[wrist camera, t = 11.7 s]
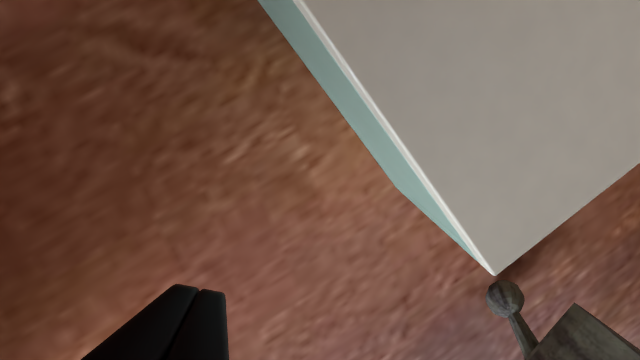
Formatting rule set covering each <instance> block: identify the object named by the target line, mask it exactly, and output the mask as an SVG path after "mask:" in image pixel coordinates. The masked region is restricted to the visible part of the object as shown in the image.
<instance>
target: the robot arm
mask: <svg viewBox="0 0 640 360" xmlns="http://www.w3.org/2000/svg"><path fill="white" fill-rule="evenodd" d="M81 360H229V350H228V333H227V315H226V299H225V295H224V293H222V292H217V291H212V290H207V289H202V290H201V291H199V289H198V288H196V287H192V286H186V285H181V284H175V285H173V286H171V287H170V288H169V289H167V290H166V291H165V292H164V293H163V294H161V295H160V296H159V297H158V298H156V299H155V300H154V301H153V302H151V303H150V304H149V305H148V306H146V307H145V308H144V309H143V310H142V311H140V312H139V313H138V314H137V315H135V316H134V317H133V318H132V319H130V320H129V321H128V322H127V323H125V324H124V325H123V326H122V327H121V328H119V329H118V330H117V331H116V332H114V333H113V334H112V335H111V336H109V337H108V338H107V339H106V340H104V341H103V342H102V343H101V344H100V345H98V346H97V347H96V348H95V349H93V350H92V351H91V352H90V353H88V354H87V355H86V356H85V357H83V358H82V359H81Z"/></svg>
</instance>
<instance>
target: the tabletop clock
mask: <svg viewBox="0 0 640 360" xmlns="http://www.w3.org/2000/svg"><path fill="white" fill-rule="evenodd" d="M486 302H487V304H488V306H489V308H490V309H491V311H492V312H493V313H494V314H495V315H499V316H502V317H505V318H506V317H508V318H509V321H510V323H511V326H512V328H513V331H514V333H515V336H516V338H517V341H518V343H519V345H520V348H521V350H522V353H523V355H524V359H525V360H640V350H639V349H638V348H636V347H635V346H634V345H632V344H631V343H630V342H628V341H627V340H626V339H624V338H623V337H621V336H620V335H619V334H617V333H616V332H615V331H613V330H612V329H611V328H609V327H608V326H607V325H605V324H604V323H602V322H601V321H600V320H598V319H597V318H596V317H594V316H593V315H591V314H590V313H589V312H587V311H586V310H585V309H583V308H582V307H580V306H579V305H577V304H576V303H573V305H572V306H571V307H570V308H569V309H568V310H567V312H566V313H565V314H564V315H563V316H562V317H561V319H560V320H559V321H558V322H557V323H556V324H555V325H554V327H553V328H552V329H551V330H550V331H549V332H548V334H547V335H546V336H545V337H544V338H543V339H542V341H541V342H540V343H539V342H538V341H537V339H536V337H535V336H534V334H533V333H532V331H531V330H530V328H529V327H528V325H527V324H526V322H525V321H524V319H523V318H522V316H521V315H520V313H519V312H520V311H521V309H522V307H523V304H524V295H523V294H522V292H521V290H520V289H519V287H518V285H516V284H515V283H513V282H510V281H507V280H500V281H496V282H495V283H493V284H492V285H490V286H489V289H488V291H487V294H486Z"/></svg>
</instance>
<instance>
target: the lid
mask: <svg viewBox="0 0 640 360" xmlns="http://www.w3.org/2000/svg"><path fill="white" fill-rule="evenodd" d="M293 2H294V3H295V4H296V6H297V7H298V9H299V10H300V11H301V13H302V14H303V16H304V17H305V18H306V20H307V21H308V23H309V24H310V26H311V27H312V28H313V30H314V31H315V33H316V34H317V35H318V37H319V38H320V40H321V41H322V42H323V44H324V45H325V47H326V48H327V49H328V51H329V52H330V54H331V55H332V56H333V58H334V59H335V61H336V62H337V63H338V65H339V66H340V68H341V69H342V71H343V72H344V73H345V75H346V76H347V78H348V79H349V80H350V82H351V83H352V85H353V86H354V87H355V89H356V90H357V92H358V93H359V94H360V96H361V97H362V99H363V100H364V101H365V103H366V104H367V106H368V107H369V108H370V110H371V111H372V113H373V114H374V115H375V117H376V118H377V120H378V121H379V123H380V124H381V125H382V127H383V128H384V130H385V131H386V132H387V134H388V135H389V137H390V138H391V139H392V141H393V142H394V144H395V145H396V146H397V148H398V149H399V151H400V152H401V153H402V155H403V156H404V158H405V159H406V160H407V162H408V163H409V165H410V166H411V168H412V169H413V170H414V172H415V173H416V175H417V176H418V177H419V179H420V180H421V182H422V183H423V184H424V186H425V187H426V189H427V190H428V191H429V193H430V194H431V196H432V197H433V198H434V200H435V201H436V203H437V204H438V205H439V207H440V208H441V210H442V211H443V213H444V214H445V215H446V217H447V218H448V220H449V221H450V222H451V224H452V225H453V227H454V228H455V229H456V231H457V232H458V234H459V235H460V236H461V238H462V239H463V241H464V242H465V243H466V245H467V246H468V248H469V249H470V250H471V252H472V253H473V255H474V256H475V258H476V259H477V260H478V262H479V263H480V264H481V265H482V266H483V267H484V268H485V269H486V270H487V271H488V272H489V273H491V274H492V275H494V276H495V275H497V274H499V273H500V272H501V271H502V270H504V269H505V268H506V267H508V266H509V265H510V264H511V263H513V262H514V261H515V260H516V259H518V258H519V257H520V256H522V255H523V254H524V253H525V252H527V251H528V250H529V249H530V248H532V247H533V246H534V245H536V244H537V243H538V242H539V241H541V240H542V239H543V238H544V237H546V236H547V235H548V234H550V233H551V232H552V231H553V230H555V229H556V228H557V227H558V226H560V225H561V224H562V223H564V222H565V221H566V220H567V219H569V218H570V217H571V216H572V215H574V214H575V213H576V212H577V211H579V210H580V209H581V208H583V207H584V206H585V205H586V204H588V203H589V202H590V201H591V200H593V199H594V198H595V197H597V196H598V195H599V194H600V193H602V192H603V191H604V190H605V189H607V188H608V187H609V186H611V185H612V184H613V183H614V182H616V181H617V180H618V179H619V178H621V177H622V176H623V175H625V174H626V173H627V172H628V171H630V170H631V169H632V168H633V167H635V166H636V165H637V164H639V163H640V0H293Z"/></svg>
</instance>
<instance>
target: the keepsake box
mask: <svg viewBox="0 0 640 360" xmlns="http://www.w3.org/2000/svg"><path fill="white" fill-rule="evenodd" d="M258 2H259V3H260V4H261V6H262V7H263V8H264V10H265V11H266V12H267V14H268V15H269V16H270V18H271V19H272V21H273V22H274V23H275V25H276V26H277V27H278V29H279V30H280V31H281V33H282V34H283V35H284V37H285V38H286V39H287V41H288V42H289V43H290V45H291V46H292V48H293V49H294V50H295V52H296V53H297V54H298V56H299V57H300V58H301V60H302V61H303V62H304V64H305V65H306V66H307V68H308V69H309V70H310V72H311V73H312V75H313V76H314V77H315V79H316V80H317V81H318V83H319V84H320V85H321V87H322V88H323V89H324V91H325V92H326V93H327V95H328V96H329V97H330V99H331V100H332V102H333V103H334V104H335V106H336V107H337V108H338V110H339V111H340V112H341V114H342V115H343V116H344V118H345V119H346V120H347V122H348V123H349V124H350V126H351V127H352V129H353V130H354V131H355V133H356V134H357V135H358V137H359V138H360V139H361V141H362V142H363V143H364V145H365V146H366V147H367V149H368V150H369V151H370V153H371V154H372V156H373V157H374V158H375V160H376V161H377V162H378V164H379V165H380V166H381V168H382V169H383V170H384V172H385V173H386V174H387V176H388V177H389V178H390V180H391V181H392V183H393V184H394V185H395V187H396V188H397V189H398V190H399V191H401V192H402V193H403V194H404V195H405V196H406V197H407V198H408V199H409V200H410V201H411V202H413V203H414V204H415V205H416V206H417V207H418V208H419V209H420V210H421V211H422V212H424V213H425V214H426V215H427V216H428V217H429V218H430V219H431V220H432V221H433V222H435V223H436V224H437V225H438V226H439V227H440V228H441V229H442V230H443V231H444V232H445V233H447V234H448V235H449V236H450V237H451V238H452V239H453V240H454V241H455V242H456V243H458V244H459V245H460V246H461V247H462V248H463V249H464V250H465V251H466V252H467V253H469V254H470V255H471V256H472V257H473V258H474V259H475V260H476V261H478V260H477V259H476V258H475V256H474V255H473V253H472V252H471V250H470V249H469V248H468V246H467V245H466V243H465V242H464V241H463V239H462V238H461V236H460V235H459V234H458V232H457V231H456V229H455V228H454V227H453V225H452V224H451V222H450V221H449V220H448V218H447V217H446V215H445V214H444V213H443V211H442V210H441V208H440V207H439V205H438V204H437V203H436V201H435V200H434V198H433V197H432V196H431V194H430V193H429V191H428V190H427V189H426V187H425V186H424V184H423V183H422V182H421V180H420V179H419V177H418V176H417V175H416V173H415V172H414V170H413V169H412V168H411V166H410V165H409V163H408V162H407V160H406V159H405V158H404V156H403V155H402V153H401V152H400V151H399V149H398V148H397V146H396V145H395V144H394V142H393V141H392V139H391V138H390V137H389V135H388V134H387V132H386V131H385V130H384V128H383V127H382V125H381V124H380V123H379V121H378V120H377V118H376V117H375V115H374V114H373V113H372V111H371V110H370V108H369V107H368V106H367V104H366V103H365V101H364V100H363V99H362V97H361V96H360V94H359V93H358V92H357V90H356V89H355V87H354V86H353V85H352V83H351V82H350V80H349V79H348V78H347V76H346V75H345V73H344V72H343V71H342V69H341V68H340V66H339V65H338V63H337V62H336V61H335V59H334V58H333V56H332V55H331V54H330V52H329V51H328V49H327V48H326V47H325V45H324V44H323V42H322V41H321V40H320V38H319V37H318V35H317V34H316V33H315V31H314V30H313V28H312V27H311V26H310V24H309V23H308V21H307V20H306V18H305V17H304V16H303V14H302V13H301V11H300V10H299V9H298V7H297V6H296V4H295V3H294V2H293V0H258Z"/></svg>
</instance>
